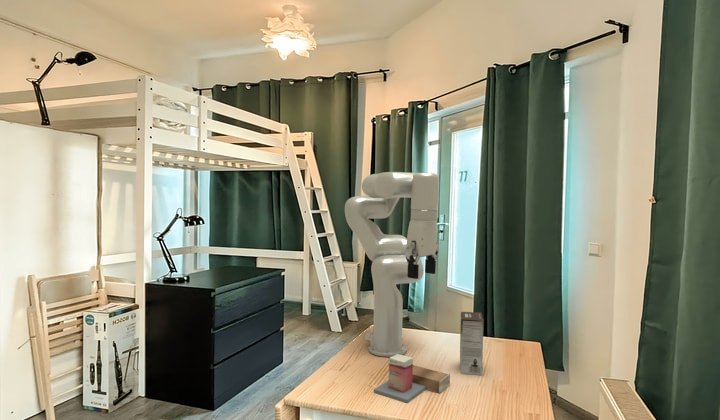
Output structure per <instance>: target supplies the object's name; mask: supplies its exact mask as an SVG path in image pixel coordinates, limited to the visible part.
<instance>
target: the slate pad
mask: <svg viewBox="0 0 720 420" xmlns="http://www.w3.org/2000/svg"><path fill="white" fill-rule="evenodd" d="M388 383H389V379H388V380H386V381H385V382H383V383H382V384H380V385H378V386H377V387H375V388H373V393H375V394H378V395H381V396H385V397H387V398H390V399H393V400H397V401H400V402H403V403H406V404H409V402H411V401H412V400H414V399H415V398H417V397H418V396H419V395H420V394H422V393H423V392H424V391H426V390H427V389H426V386H423V385H420V384H417V383H413V382H412V388H410V389H408V390H407V391H405V392H402V391H399V390H396V389H393V388H390V387H388Z"/></svg>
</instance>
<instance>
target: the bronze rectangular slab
mask: <svg viewBox="0 0 720 420" xmlns="http://www.w3.org/2000/svg"><path fill="white" fill-rule="evenodd" d="M412 382H413V383H417V384H420V385H423V386H426V390H427V391H430V392H434V393H438V394H441V393H443V392H444V391H445V390H446V389H448V388H449V387H450V386H451V373H444V372H442V371H438V370H434V369H430V368H427V367H426V368H425V367H422V366H418V365H415V364H413V374H412Z"/></svg>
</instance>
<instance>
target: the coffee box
mask: <svg viewBox="0 0 720 420" xmlns="http://www.w3.org/2000/svg"><path fill="white" fill-rule="evenodd" d="M483 317H484V316H483V313H482V312H480V311H479V312H478V311H477V312H474V311H460V331H459V332H460V333H459V334H460V335H459V338H460V339H459V340H460V342H459V344H460V345H459V363H460V364H459V365H460V367H459V368H460V369H459V370H460V374H464V375H476V376H483V359H484V357H483V356H484V355H483V353H484V351H483V349H484V342H483V341H484V318H483Z"/></svg>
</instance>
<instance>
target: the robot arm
mask: <svg viewBox="0 0 720 420" xmlns="http://www.w3.org/2000/svg"><path fill="white" fill-rule="evenodd" d="M361 189H362V191H363V193H364V195H357V196H351V197H350V198H349V199H347V200H346V202H345V204H344V215H345V220H346V223H347V224H348V226H349V228H350V230H351V231H352V233H354V235H355V236H356V237H357V238H358V241H359V242H360V244H361V245H360V246H362V249H363V250H364V252H365V254H366V256H367V257H368V259H369V260H370V261H371V269H370V270H371V277H372V284H373V285H372V286H373V328H372V329H373V333H370V332H367V333H366V334H365V335H364V341H366V342H370V344H369V345H368V352H369V353H370V354H372V355H375V356H378V357H384V358H385V357H386V358H390V357H392V356H394V355H396V354H400V355H405V354H406V353H407V349H408V348H407V346H406V345H404V344H403V311H404V310H403V302H404V299H403V295H402V293H401V291H400V289H398V287H397V285H401V284H413V283H417V282H419V281H420V280H422V278H423V276H424V273H426V274H431V275H435V274H436V268H437V267H436V266H437V258H438V257H437V255H438V253H439V247H440V244H439V243H438V229H437V227H438V226H437V222H438V203H439V201H438V198H439V176H438V174H436V173H434V172H403V171H387V172H386V171H385V172H384V171H383V172H380V173H373V174H369V175H367V176H366V177H364V179H363V180H362V183H361ZM401 198H406V199H407V198H410V199H411V200H410V220H409V225H408V229H407V236H406V237H405V236H403V235H401V234H386V233H385V234H384V233H383V232H382V230H381V229H380V227H379V225H377V223H375V222H374V221H372V220H371V219H386V218H388V217H390V215H391V214H392V213H393V211H394V209H395V207H396V206H397V204H398V202H399V200H400V199H401ZM423 257H425V258H426V259H424V261H425V262H424V263H425V264H423V262H422V259H421V258H423Z"/></svg>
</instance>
